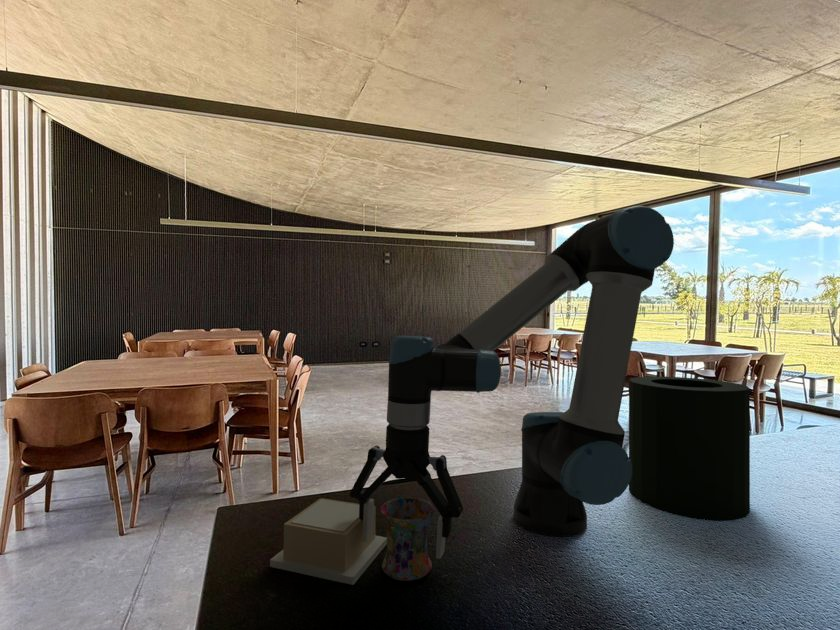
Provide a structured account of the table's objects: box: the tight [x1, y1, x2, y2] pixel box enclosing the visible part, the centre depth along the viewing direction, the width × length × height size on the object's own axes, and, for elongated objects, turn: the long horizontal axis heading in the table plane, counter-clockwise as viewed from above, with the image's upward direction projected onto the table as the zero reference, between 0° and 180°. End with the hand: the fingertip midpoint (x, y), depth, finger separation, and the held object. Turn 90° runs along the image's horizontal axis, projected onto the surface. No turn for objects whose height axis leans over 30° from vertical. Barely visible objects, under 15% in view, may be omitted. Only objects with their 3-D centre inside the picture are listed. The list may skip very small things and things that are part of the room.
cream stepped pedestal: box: [269, 497, 388, 586], centre depth 81 cm, size 16×14×7 cm
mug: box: [379, 497, 435, 582], centre depth 77 cm, size 12×9×11 cm
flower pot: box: [628, 376, 751, 522], centre depth 108 cm, size 25×25×28 cm
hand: (402, 546), depth 77 cm, fingers open, 13 cm apart
